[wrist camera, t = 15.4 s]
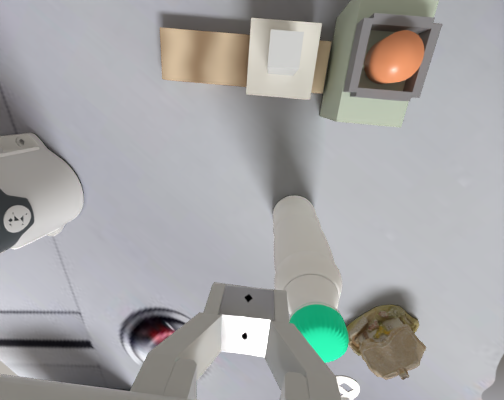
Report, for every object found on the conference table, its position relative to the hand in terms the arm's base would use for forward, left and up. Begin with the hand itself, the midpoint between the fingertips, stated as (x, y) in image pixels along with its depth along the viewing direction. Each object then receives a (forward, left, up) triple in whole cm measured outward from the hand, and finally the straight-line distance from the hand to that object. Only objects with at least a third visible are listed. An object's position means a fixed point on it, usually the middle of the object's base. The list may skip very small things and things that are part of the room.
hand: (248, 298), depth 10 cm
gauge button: (+11, +12, -21) cm, 26 cm away
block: (-4, +12, -31) cm, 34 cm away
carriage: (+1, +12, -29) cm, 31 cm away
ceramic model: (+27, -34, -32) cm, 53 cm away
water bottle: (+6, -10, -31) cm, 33 cm away
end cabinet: (+11, +12, -31) cm, 35 cm away
